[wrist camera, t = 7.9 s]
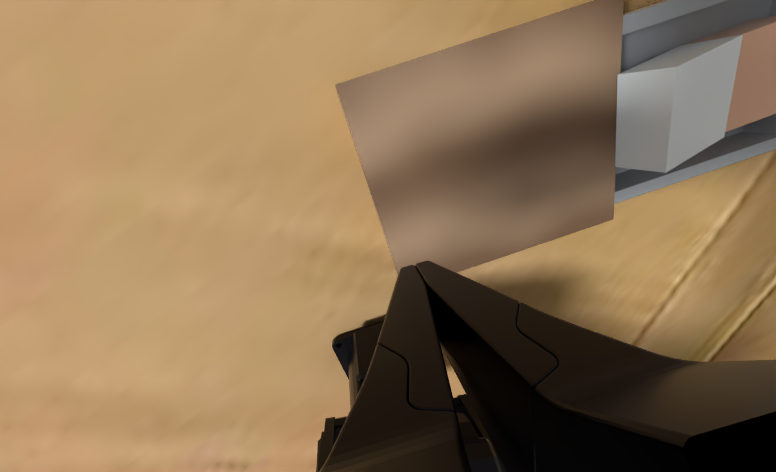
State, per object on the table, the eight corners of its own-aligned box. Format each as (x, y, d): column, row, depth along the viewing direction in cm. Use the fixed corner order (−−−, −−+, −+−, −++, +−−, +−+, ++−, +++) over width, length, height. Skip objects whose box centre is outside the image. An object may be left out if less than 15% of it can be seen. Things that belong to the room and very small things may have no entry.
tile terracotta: (735, 108, 20) (785, 110, 18) (663, 134, 20) (704, 139, 18) (750, 19, 18) (810, 8, 16) (670, 49, 18) (718, 43, 16)
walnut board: (584, 206, 22) (613, 219, 20) (396, 270, 22) (403, 290, 19) (584, 4, 16) (624, -10, 14) (335, 86, 16) (335, 84, 14)
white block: (670, 135, 19) (724, 137, 17) (615, 166, 18) (665, 172, 16) (679, 45, 17) (743, 34, 15) (617, 74, 16) (676, 66, 14)
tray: (745, 138, 22) (791, 143, 19) (584, 193, 21) (612, 204, 19) (787, -40, 17) (852, -60, 15) (584, 26, 17) (621, 16, 15)
